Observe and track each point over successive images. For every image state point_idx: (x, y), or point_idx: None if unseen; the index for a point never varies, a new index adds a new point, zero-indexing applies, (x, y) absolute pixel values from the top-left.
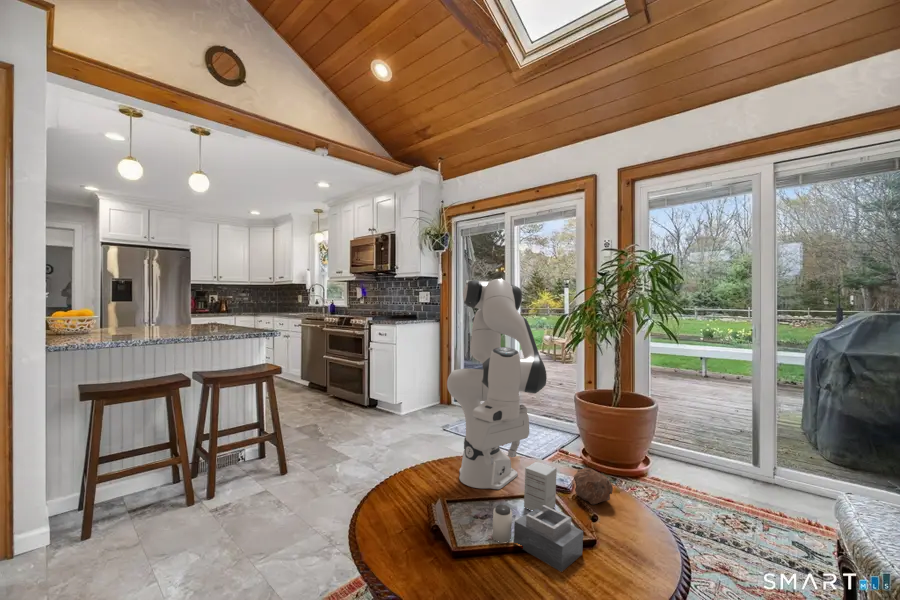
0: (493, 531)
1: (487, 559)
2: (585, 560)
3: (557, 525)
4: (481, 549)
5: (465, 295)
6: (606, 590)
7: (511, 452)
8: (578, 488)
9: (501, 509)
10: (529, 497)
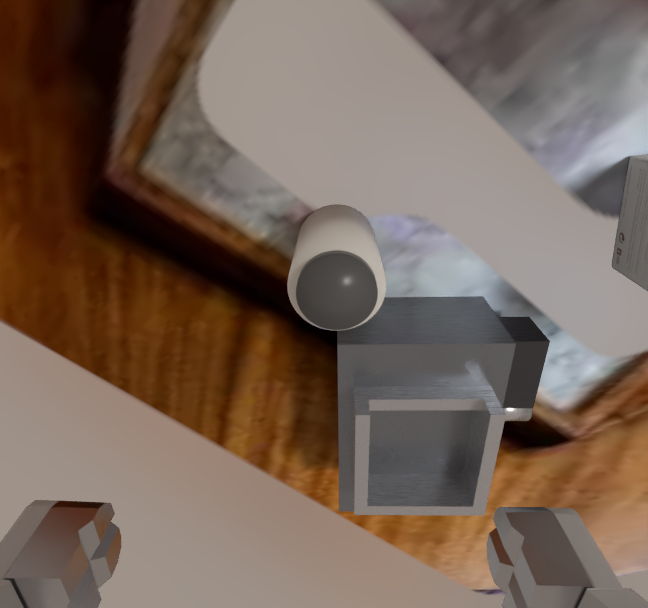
0: (298, 237)
1: (194, 294)
2: None
3: (386, 512)
4: (212, 244)
5: None
6: (365, 524)
7: (513, 599)
8: None
9: (321, 297)
10: None
